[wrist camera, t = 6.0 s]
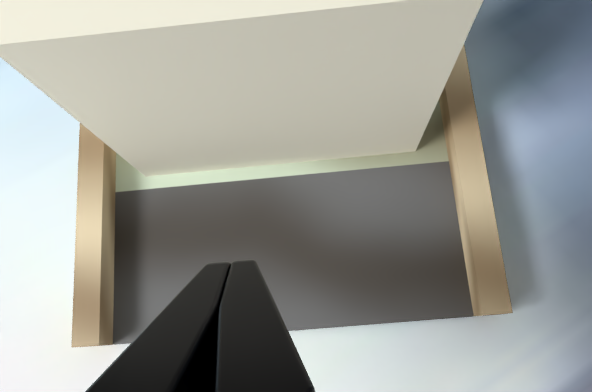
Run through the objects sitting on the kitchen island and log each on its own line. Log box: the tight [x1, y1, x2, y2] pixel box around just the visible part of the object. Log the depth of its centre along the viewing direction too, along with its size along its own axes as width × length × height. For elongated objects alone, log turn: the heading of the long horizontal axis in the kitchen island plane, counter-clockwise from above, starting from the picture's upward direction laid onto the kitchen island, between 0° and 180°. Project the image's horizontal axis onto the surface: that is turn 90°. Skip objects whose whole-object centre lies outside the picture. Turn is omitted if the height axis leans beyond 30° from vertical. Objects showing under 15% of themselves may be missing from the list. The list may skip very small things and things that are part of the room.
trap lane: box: [72, 45, 513, 347], centre depth 20 cm, size 14×16×1 cm
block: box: [0, 0, 483, 177], centre depth 17 cm, size 4×11×10 cm, turn 94°
